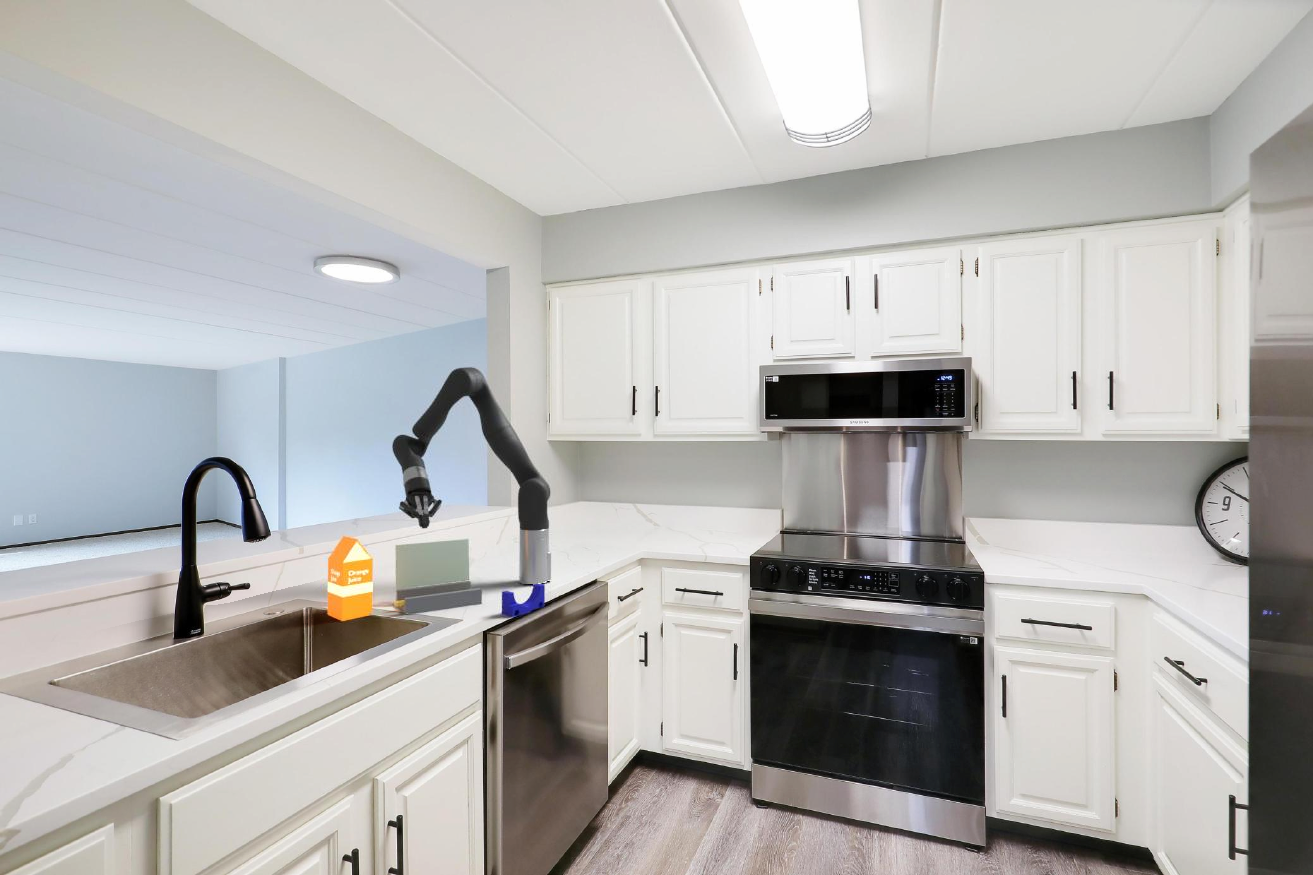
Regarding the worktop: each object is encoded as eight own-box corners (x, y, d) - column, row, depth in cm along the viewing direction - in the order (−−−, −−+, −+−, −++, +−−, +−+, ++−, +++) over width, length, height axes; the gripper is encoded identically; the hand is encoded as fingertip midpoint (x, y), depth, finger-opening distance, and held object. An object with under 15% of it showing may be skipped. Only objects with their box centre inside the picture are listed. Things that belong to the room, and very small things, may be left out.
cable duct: (472, 593, 177) (472, 580, 177) (485, 602, 167) (485, 588, 167) (389, 605, 164) (389, 590, 164) (397, 615, 154) (398, 600, 154)
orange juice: (357, 608, 161) (358, 534, 161) (372, 614, 156) (373, 537, 156) (326, 614, 155) (327, 537, 155) (341, 621, 150) (342, 541, 150)
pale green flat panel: (469, 580, 176) (468, 579, 177) (468, 539, 177) (467, 538, 178) (396, 589, 165) (395, 588, 166) (396, 545, 166) (395, 545, 167)
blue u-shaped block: (512, 617, 154) (512, 594, 154) (501, 614, 157) (501, 591, 157) (548, 607, 163) (548, 585, 163) (537, 605, 166) (537, 583, 166)
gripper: (396, 476, 185) (403, 520, 175) (440, 475, 193) (450, 517, 182) (392, 492, 190) (400, 536, 179) (436, 490, 197) (445, 532, 187)
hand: (425, 526), depth 181 cm, fingers closed
